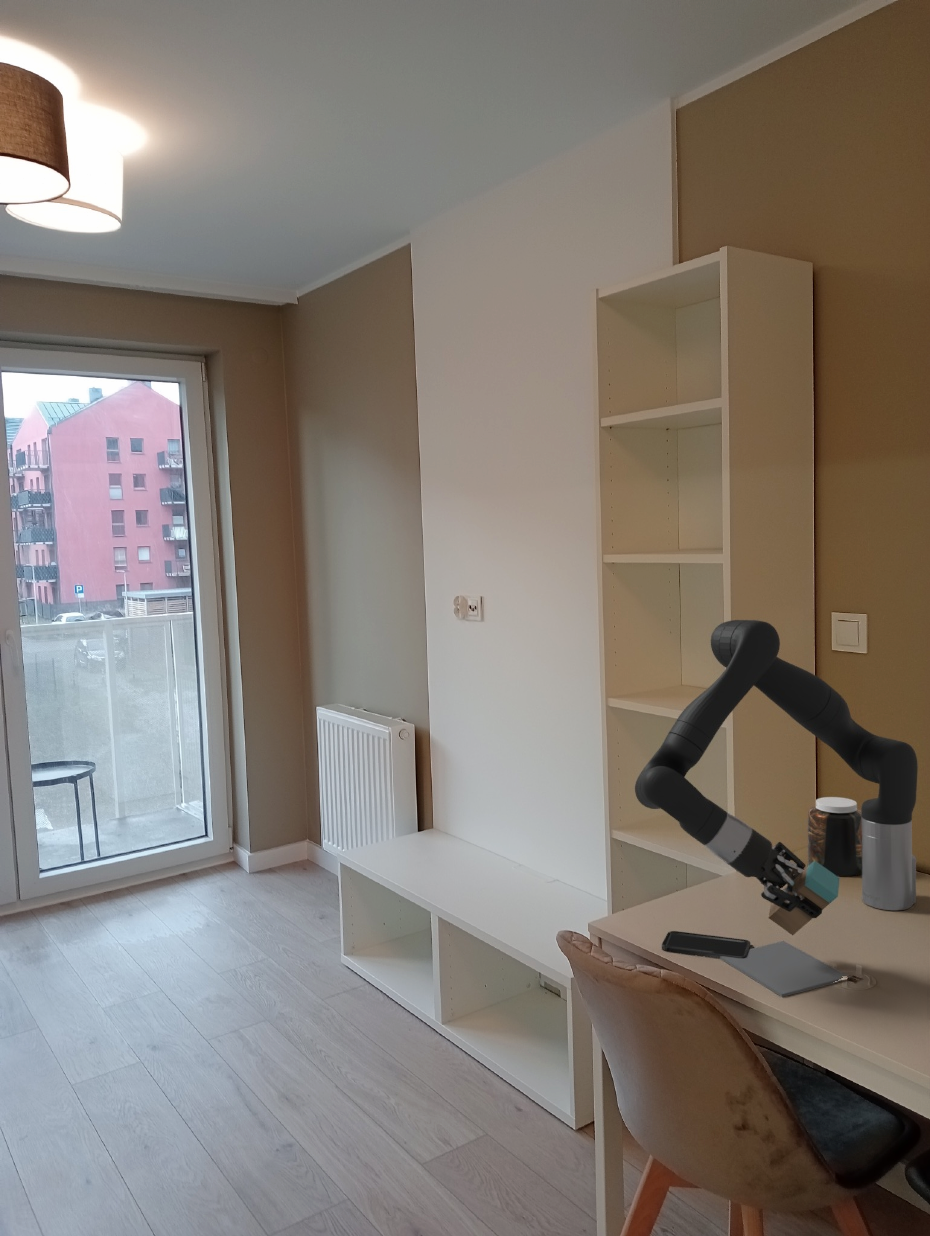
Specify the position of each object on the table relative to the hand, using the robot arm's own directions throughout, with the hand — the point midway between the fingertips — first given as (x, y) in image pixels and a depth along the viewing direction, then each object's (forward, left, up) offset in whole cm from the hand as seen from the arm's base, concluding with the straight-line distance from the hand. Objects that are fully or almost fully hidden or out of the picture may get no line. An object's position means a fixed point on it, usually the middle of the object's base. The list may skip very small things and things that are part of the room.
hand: (820, 903), depth 164 cm
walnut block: (+4, -5, -4) cm, 8 cm away
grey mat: (+6, -2, -11) cm, 13 cm away
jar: (-38, -36, -11) cm, 54 cm away
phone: (+13, -15, -12) cm, 23 cm away
